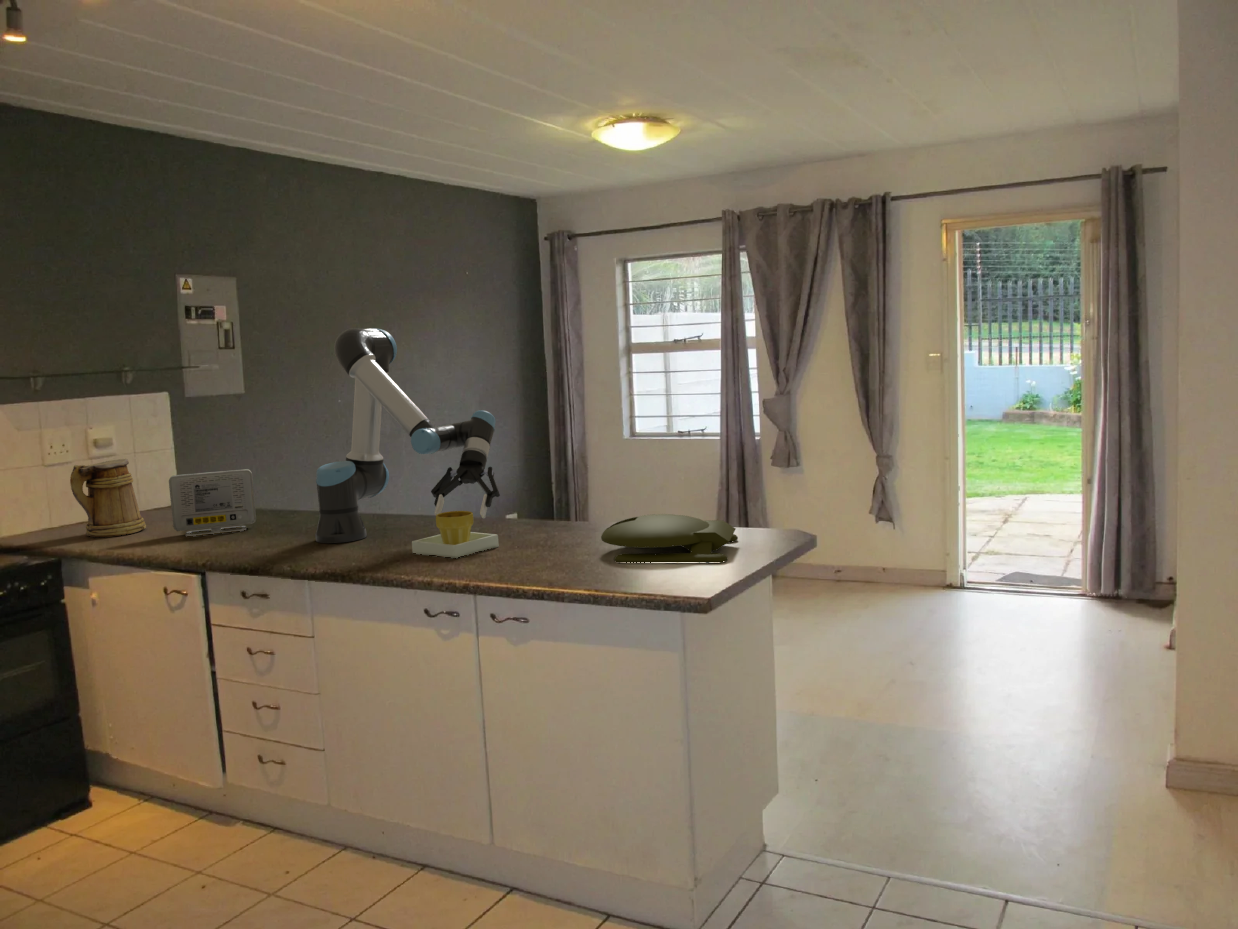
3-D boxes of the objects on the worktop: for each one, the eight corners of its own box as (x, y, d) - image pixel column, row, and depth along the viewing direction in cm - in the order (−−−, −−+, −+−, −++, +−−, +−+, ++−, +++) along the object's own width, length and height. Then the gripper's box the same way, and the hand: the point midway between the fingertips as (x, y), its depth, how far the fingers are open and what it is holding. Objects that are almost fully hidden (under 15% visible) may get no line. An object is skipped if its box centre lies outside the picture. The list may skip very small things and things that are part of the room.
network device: (256, 525, 340) (251, 468, 337) (257, 529, 331) (251, 470, 329) (175, 534, 331) (169, 475, 328) (173, 538, 323) (167, 477, 320)
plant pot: (467, 551, 273) (465, 516, 272) (432, 551, 275) (429, 517, 274) (480, 544, 283) (477, 510, 282) (446, 544, 286) (443, 510, 284)
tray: (412, 553, 278) (411, 541, 277) (456, 542, 291) (455, 530, 291) (455, 558, 268) (454, 546, 267) (498, 546, 281) (497, 534, 281)
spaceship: (739, 540, 275) (737, 505, 274) (726, 565, 245) (725, 526, 244) (616, 541, 282) (614, 507, 281) (589, 566, 253) (587, 528, 251)
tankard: (157, 528, 344) (150, 457, 342) (98, 542, 323) (89, 466, 320) (121, 527, 352) (113, 457, 349) (60, 540, 331) (51, 466, 328)
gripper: (518, 463, 294) (504, 522, 281) (439, 464, 299) (422, 523, 287) (511, 447, 288) (497, 507, 275) (431, 449, 293) (414, 508, 281)
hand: (459, 515), depth 281 cm, fingers open, 13 cm apart
